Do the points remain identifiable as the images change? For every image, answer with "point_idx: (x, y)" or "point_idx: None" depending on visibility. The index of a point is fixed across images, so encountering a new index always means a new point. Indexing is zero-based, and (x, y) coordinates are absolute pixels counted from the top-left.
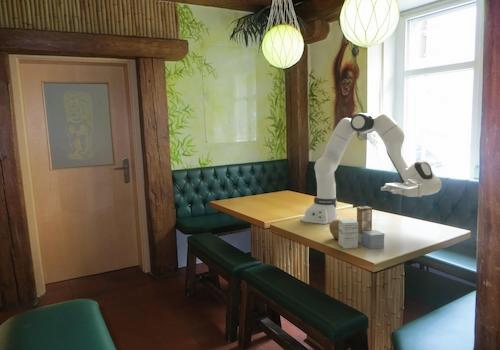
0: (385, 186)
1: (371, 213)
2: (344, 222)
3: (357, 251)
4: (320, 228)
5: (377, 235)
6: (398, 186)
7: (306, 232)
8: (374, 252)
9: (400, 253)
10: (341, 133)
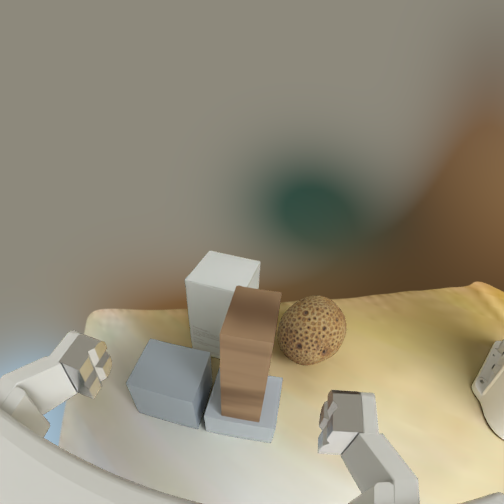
0: (379, 456)
1: (220, 354)
2: (213, 253)
3: (169, 331)
4: (427, 361)
5: (139, 360)
6: (74, 477)
7: (391, 316)
8: (130, 357)
9: (70, 401)
10: None
